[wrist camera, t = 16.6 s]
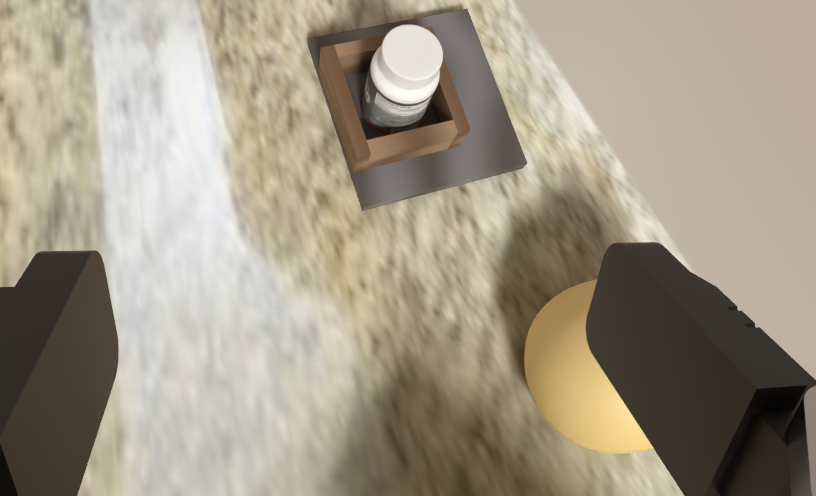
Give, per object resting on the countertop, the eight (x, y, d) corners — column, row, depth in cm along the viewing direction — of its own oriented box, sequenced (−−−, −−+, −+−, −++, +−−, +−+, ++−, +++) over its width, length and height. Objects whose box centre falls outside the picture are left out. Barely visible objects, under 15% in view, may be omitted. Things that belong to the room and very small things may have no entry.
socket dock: (362, 210, 46) (369, 192, 42) (308, 45, 48) (309, 14, 45) (522, 168, 49) (542, 147, 45) (463, 16, 52) (477, -16, 48)
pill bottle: (373, 73, 48) (391, 5, 40) (430, 97, 48) (458, 35, 40) (351, 124, 46) (364, 65, 38) (409, 149, 47) (434, 95, 39)
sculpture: (677, 426, 46) (788, 430, 36) (530, 466, 43) (605, 483, 33) (632, 278, 49) (725, 243, 38) (491, 307, 46) (549, 277, 36)
